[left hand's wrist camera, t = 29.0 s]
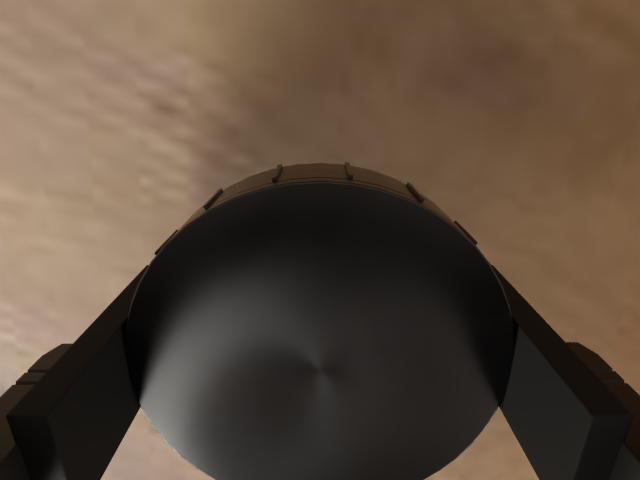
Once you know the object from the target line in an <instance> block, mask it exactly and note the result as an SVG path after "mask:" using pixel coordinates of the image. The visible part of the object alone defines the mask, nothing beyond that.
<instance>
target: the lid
mask: <svg viewBox="0 0 640 480" xmlns="http://www.w3.org/2000/svg"><path fill="white" fill-rule="evenodd" d="M476 244H477V242H476V240H475V239H474V238H473V237H472V236H471V235H470V234H469V233H468V232H467V231H466V230H465V229H464V228H463V227H462V226H461V225H460V224H459V223H458V222H457V221H454V222H453V221H452V220H451V219H450V218H449V217H448V216H447V215H446V214H445V213H444V212H443V211H442V210H441V209H440V208H439V207H438V206H436V205H435V204H434V203H433V202H432V201H431V200H429V199H428V198H426V197H425V196H424V195H422V194H421V193H419V192H418V191H417V190H416V189H415V188H414V187H413V185H412V184H411V183H409V182H408V183H407V184H404V183H402V182H400V181H398V180H396V179H394V178H392V177H389V176H386V175H383V174H380V173H377V172H375V171H372V170H368V169H363V168H358V167H354V166H350V164H349V163H347V162H345V165H340V164H327V163H315V164H297V165H292V166H286V167H282V164H281V165H278V166H277V168H276V169H272V170H269V171H265V172H262V173H259V174H256V175H253V176H250V177H248V178H246V179H244V180H242V181H240V182H238V183H236V184H234V185H232V186H230V187H228V188H226V189H225V190H224V191H223V190H222V189H219V190H218V191H217V192H216V193H215V194H214V195H213V196H212V197H211V198H210V199H209V200H208V202H207V203H206V204H204V205H203V206H202V207H201V208H200V209H199V210H198V211H197V212H196V213H195V214H193V215H192V216H191V218H190V219H189V220H188V221H187V222H186V223H185V224H184V225H183V226H182V227H181V228H180V229H179V230H176V231H175V232H174V233H173V234H172V235H171V236H170V237H169V238H168V239H167V240H166V241H165V242H164V243H163V244H162V245H161V247H160V248H159V249H158V250H157V251H156V252H155V254H156V256H155V258H154V259H153V260H152V261H151V263H150V265H149V266H148V268H147V270H146V271H145V273H144V275H143V277H142V278H141V280H140V282H139V284H138V287H137V289H136V292H135V294H134V297H133V300H132V302H131V306H130V310H129V315H128V320H127V325H126V343H125V350H126V358H127V365H128V370H129V375H130V379H131V383H132V386H133V390H134V392H135V394H136V396H137V399H138V401H139V403H140V406H141V408H142V410H143V411H144V413H145V414H146V416H147V418H148V419H149V421H150V422H151V424H152V426H153V427H154V428H155V429H156V431H157V432H158V433H159V434H160V435H161V437H162V438H163V439H164V440H165V442H166V443H167V444H168V445H170V446H171V447H172V448H173V449H174V450H175V451H176V452H177V453H178V454H179V455H180V456H181V457H182V458H184V459H185V460H186V461H188V462H189V463H190V464H192V465H193V466H194V467H196V468H197V469H199V470H200V471H202V472H204V473H205V474H207V475H209V476H210V477H212V478H214V479H215V480H424V479H426V478H427V477H429V476H431V475H432V474H434V473H436V472H438V471H439V470H441V469H442V468H444V467H445V466H446V465H448V464H449V463H450V462H452V461H453V460H454V459H456V458H457V457H458V456H459V455H460V454H461V453H463V452H464V451H465V450H466V449H467V448H468V447H469V446H470V445H471V444H472V443H473V442H474V441H475V440H476V438H477V437H478V436H479V435H480V434H481V432H482V431H483V430H484V429H485V428H486V426H487V425H488V423H489V422H490V420H491V418H492V417H493V415H494V414H495V412H496V411H497V409H498V406H499V404H500V402H501V400H502V398H503V396H504V394H505V391H506V388H507V385H508V381H509V377H510V373H511V367H512V362H513V356H514V327H513V322H512V317H511V311H510V306H509V303H508V301H507V298H506V295H505V292H504V290H503V287H502V284H501V283H500V281H499V279H498V277H497V275H496V274H495V272H494V270H493V268H492V266H491V265H490V263H489V262H488V261H487V259H486V258H485V257H484V255H483V254H482V253H481V252H480V250H479V249H478V248H477V246H476Z"/></svg>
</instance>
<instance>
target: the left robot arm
mask: <svg viewBox="0 0 640 480" xmlns="http://www.w3.org/2000/svg"><path fill="white" fill-rule="evenodd" d="M148 266H149V265H147V266H146V267H145V268H144V269H143V270H142V271H141V272H140V273H139V274H138V275H137V276H136V278H135V279H134V280H133V281H132V282H131V283H130V284H129V285H128V286H127V287H126V288H125V289H124V290H123V291H122V292H121V293H120V295H119V296H118V297H117V298H116V299H115V300H114V301H113V302H112V303H111V304H110V305H109V306H108V307H107V308H106V309H105V310H104V312H103V313H102V314H101V315H100V316H99V317H98V318H97V319H96V320H95V321H94V322H93V323H92V324H91V325H90V326H89V327H88V329H87V330H86V331H85V332H84V333H83V334H82V335H81V336H80V337H79V338H78V339H77V340H76V341H75V342H74V343H73V344H61V345H59V346H58V347H56V348H54V349H53V350H51V351H49V352H48V353H46V354H44V355H43V356H42V357H41V358H40V359H39V360H38V361H37V362H36V363H35V364H33V365H32V366H31V367H30V368H29V369H28V372H27V373H24V374H23V375H22V376H21V377H20V378H19V379H18V380H17V381H16V384H15V385H12V386H11V387H10V388H9V389H8V390H7V391H6V392H5V393H4V394H3V395H2V396H1V397H0V480H100V479H101V477H102V476H103V474H104V472H105V470H106V468H107V466H108V465H109V463H110V461H111V459H112V457H113V456H114V454H115V452H116V450H117V448H118V447H119V445H120V443H121V441H122V439H123V437H124V436H125V434H126V432H127V430H128V428H129V427H130V425H131V423H132V421H133V419H134V418H135V416H136V414H137V412H138V410H139V408H140V407H141V406H140V403H139V401H138V399H137V396H136V394H135V392H134V390H133V386H132V383H131V379H130V375H129V370H128V365H127V358H126V350H125V343H126V325H127V320H128V315H129V310H130V306H131V302H132V300H133V297H134V294H135V292H136V289H137V287H138V284H139V282H140V280H141V278H142V277H143V275H144V273H145V271H146V270H147V268H148ZM491 266H492V268H493V270H494V272H495V274H496V275H497V277H498V279H499V281H500V283H501V284H502V287H503V290H504V292H505V295H506V298H507V301H508V303H509V306H510V311H511V317H512V322H513V327H514V356H513V362H512V367H511V373H510V377H509V381H508V385H507V388H506V391H505V394H504V396H503V398H502V400H501V402H500V404H499V407H500V409H501V411H502V413H503V414H504V416H505V418H506V420H507V422H508V423H509V425H510V427H511V429H512V431H513V433H514V434H515V436H516V438H517V440H518V442H519V443H520V445H521V447H522V449H523V451H524V452H525V454H526V456H527V458H528V460H529V462H530V463H531V465H532V467H533V469H534V471H535V472H536V474H537V476H538V478H539V480H640V395H639V394H638V393H637V392H636V391H635V390H634V389H633V388H631V387H630V386H629V385H628V384H627V383H624V380H623V379H622V378H621V377H620V376H619V375H618V374H617V373H616V372H615V371H612V368H611V367H610V366H609V365H608V364H607V363H606V362H605V361H604V360H603V359H602V358H601V357H600V356H599V355H598V354H596V353H595V352H593V351H591V350H590V349H588V348H586V347H585V346H583V345H581V344H580V343H578V342H564V341H563V339H562V338H561V337H560V336H559V335H558V334H557V333H556V332H555V331H554V330H553V329H552V328H551V327H550V326H549V325H548V324H547V322H546V321H545V320H544V319H543V318H542V317H541V316H540V315H539V314H538V313H537V312H536V311H535V310H534V309H533V308H532V307H531V305H530V304H529V303H528V302H527V301H526V300H525V299H524V298H523V297H522V296H521V295H520V294H519V293H518V292H517V291H516V290H515V288H514V287H513V286H512V285H511V284H510V283H509V282H508V281H507V280H506V279H505V278H504V277H503V276H502V275H501V274H500V273H499V271H498V270H497V269H496V268H495V267H494V266H493V265H491Z"/></svg>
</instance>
